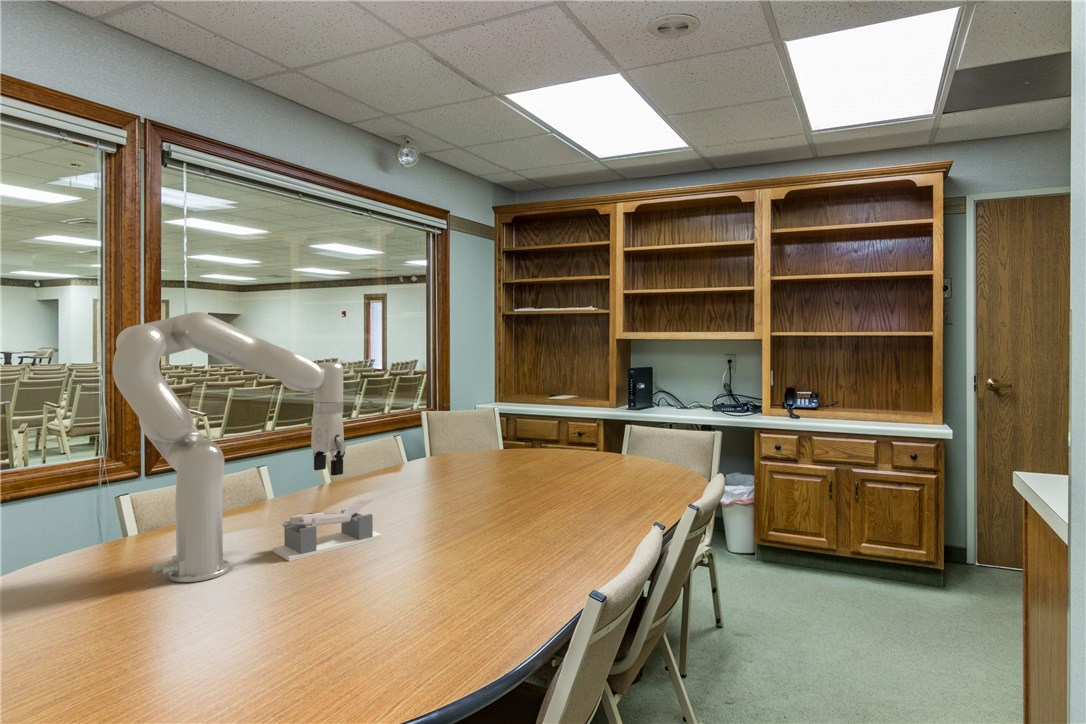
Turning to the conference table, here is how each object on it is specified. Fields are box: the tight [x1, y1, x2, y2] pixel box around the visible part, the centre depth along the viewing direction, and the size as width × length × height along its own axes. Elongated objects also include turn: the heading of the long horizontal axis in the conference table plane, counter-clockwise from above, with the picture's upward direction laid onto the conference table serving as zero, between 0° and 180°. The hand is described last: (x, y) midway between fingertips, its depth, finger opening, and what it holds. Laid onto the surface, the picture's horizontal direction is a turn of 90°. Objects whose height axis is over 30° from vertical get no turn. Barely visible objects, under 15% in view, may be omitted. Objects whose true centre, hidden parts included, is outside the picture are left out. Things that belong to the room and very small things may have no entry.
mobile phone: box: [282, 498, 374, 527], centre depth 164 cm, size 6×6×25 cm
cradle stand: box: [272, 509, 383, 562], centre depth 163 cm, size 26×10×7 cm, turn 136°
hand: (328, 472), depth 163 cm, fingers open, 9 cm apart
